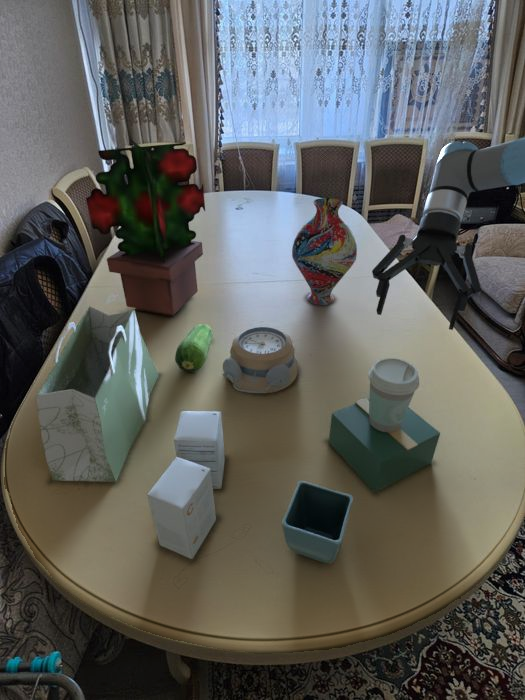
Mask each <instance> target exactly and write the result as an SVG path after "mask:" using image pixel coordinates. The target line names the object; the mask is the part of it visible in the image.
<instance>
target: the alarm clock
mask: <svg viewBox="0 0 525 700" xmlns="http://www.w3.org/2000/svg"><path fill="white" fill-rule="evenodd" d="M295 350H296V349H295V346H294V344H293V339H292V338H291V337H290V335H288V333H286V332H284V331H282V330H280V329H278V328H275V327H267V326H259V327H258V326H257V327H252V328H247V329H245V330H242V331H240V332H239V333H238V334H237V335H235V337H234V338H233V339H232V343H231V345H230V350H229V352H230V355H229V357H228V358H225V359H224V361H223V363H222V370H223V373H222V377H226V378H227V379H228V380H229V381H231V383H232V386H233V388H234V389H235V390H237V391H238V392H239V391H240V392H243V393H247V394H249V393H250V394H270V393H276V392H279V391H282V390H284V389H286V388H287V387H289V386H290V385H291V384H293V382H295V380H296V378H297V376H298V364H299V363H298V362H299V361H298V359H297V356H296V354H295V352H296V351H295Z"/></svg>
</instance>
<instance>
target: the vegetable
mask: <svg viewBox="0 0 525 700" xmlns="http://www.w3.org/2000/svg"><path fill="white" fill-rule="evenodd" d="M213 336H214V333H213V331H212V327H211V325H208V324H206V323H204V324H202V323H198V324H196V326H194V327H193V328H192V329H191V330H190V331H189V332H188V333H187V335H186V336H185V338H184V339H183V340H182V341H181V342H180V343H179V345H178V346H177V348H176V352H175V355H174V357H175V358H174V361H175V363H176V365H177V367H178V368H179V369H180V370H182V371H184V372H195V371H197V370H199V369H201V368H202V367H203V366H204V363H205V361H206V359H207V355H208V351H209V349H210V344H211V340H212V338H213Z"/></svg>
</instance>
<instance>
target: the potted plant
mask: <svg viewBox="0 0 525 700" xmlns="http://www.w3.org/2000/svg"><path fill="white" fill-rule="evenodd" d="M130 142H131V143H132V145H131V147H122V148H112V149H111V148H110V149H102V150H97V153H98V157H99V158H100V159H101V160H103V161H115V162H113V163H111V165H110V168H109V170H108V171H100V172H98V173H97V174H96V175H95V181H96V182H97V184H100V185H104V188H105V192H106V193H104V192H103V189H101V188H99V187H96V188H93V189H92V190H91V191H90V195H89V196H87V197H86V198H85V201H86V205H87V210H88V215H89V220H90V223H91V227H92V229H93V230H97V231H98V232H99V233H100V234H101V235H105V236H106V235H108V234H110V232H111V230H112V228H113V227H119V228H117V229H116V230H115V232H114V236H115V237H116V238H117V239H119V240H122V241H119V243H118V244H117V249H118V251H117V252H115V253H113V254H112V255H110V256H109V257H107V258H106V262H107V267H108V272H109V273H113V274H119V275H120V279H121V284H122V289H123V290H122V291H123V294H124V299H125V304H126V307H128V308H134V309H136V310H137V311H139V312H145V313H151V314H156V315H162V316H167V317H173V316H174V315H176V313H178V312H179V310H180V309H181V308H182V307H183V306H185V304H186V303H187V302H188V301H190V299H192V298H193V296H195V294H197V293H198V280H197V269H196V261H197V260H199V259H200V258H201V257H202V256H204V251H203V242H202V241H195V239H196V237H197V232H196V231H195V230H191V229H190V222H192V221H193V220H194V219H195V216H196V215H198V214H199V213H200V211H201V208H202V209H203V211H204V212H206V205H205V204H206V201H205V191H204V190H205V189H204V184H202V185H201V188H200V187H199V186H198V184H196V183H187V184H179V183H186V182H189V181H190V180H191V176H192V175H193V174H195V173H196V172H197V170H198V164H197V158H196V157H195V155H191V154H190V153H189V151H188V150H187V149H186V148H182V147H181V148H175V147H178V146H184V145H185V144H186V143H187V142H177V143H168V144H158V145H157V144H156V145H145V146H141V145H139V144H137V143H136V142H135V141H134V140H132V139H130ZM152 149H153V150H152ZM124 151H130V153H131V155H130V156H131V160H132V167H131V161H130V158H129V156H128V155H127V154H124V153H121V152H124ZM125 175H126V177H127V183H126V179H125Z"/></svg>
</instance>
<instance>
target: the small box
mask: <svg viewBox="0 0 525 700" xmlns="http://www.w3.org/2000/svg"><path fill="white" fill-rule="evenodd" d="M146 497H147V500H148V504H149V508H150V512H151V515H152V520H153V524H154V529H155V531H156V535H157V540H158V544H159V545H160V546H161V547H163V548H165V549H168V550H170V551H172V552H175V553H176V554H179V555H181V556H183V557H185V558H188V559H190V560H193V559H194V558H195V556H196V554H197V553H198V551H199V550H200V548H201V546H202V544H203V543H204V541H205V540H206V538H207V536H208V534H209V532H210V531H211V529H212V528H213V526H214V524H215V523H216V521H217V514H216V506H215V497H214V489H213V487H212V478H211V469H210V468H207V467H204V466H202V465H199V464H196V463H193V462H190V461H187V460H185V459H182V458H179V457H177V456H176V457H175V458H174V459H173V460H172V462H171V463H170V464H169V466H167V468H166V469H165V471H163V473H162V474H161V476H160V477H159V479H158V480H156V482H155V484H154V485H153V486H152V487H151V488H150V490H149V491H148V492H147V494H146Z"/></svg>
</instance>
